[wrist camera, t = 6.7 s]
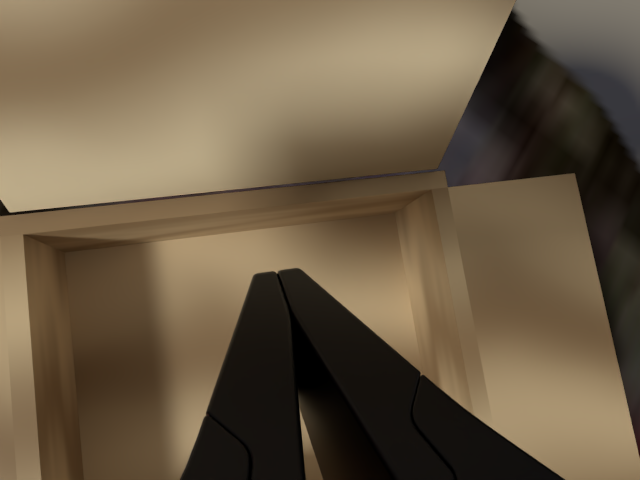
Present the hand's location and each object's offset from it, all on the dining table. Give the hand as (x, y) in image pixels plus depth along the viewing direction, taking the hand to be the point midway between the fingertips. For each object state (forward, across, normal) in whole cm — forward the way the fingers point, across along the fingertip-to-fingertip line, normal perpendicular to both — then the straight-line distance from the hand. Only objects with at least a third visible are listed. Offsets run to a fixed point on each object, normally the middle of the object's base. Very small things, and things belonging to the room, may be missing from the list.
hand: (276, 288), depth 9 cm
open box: (+6, 0, +9) cm, 11 cm away
